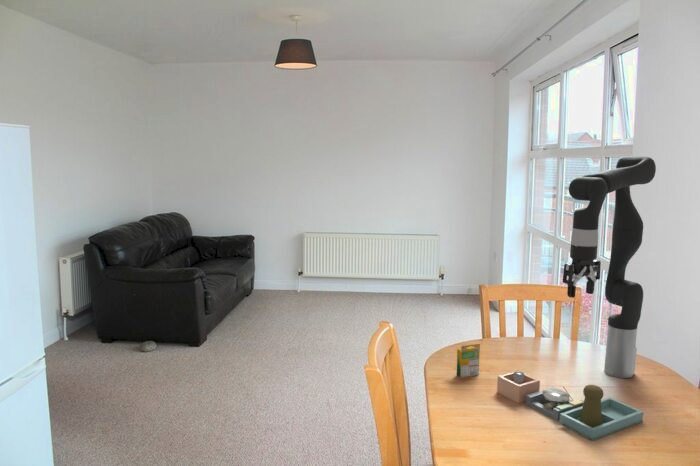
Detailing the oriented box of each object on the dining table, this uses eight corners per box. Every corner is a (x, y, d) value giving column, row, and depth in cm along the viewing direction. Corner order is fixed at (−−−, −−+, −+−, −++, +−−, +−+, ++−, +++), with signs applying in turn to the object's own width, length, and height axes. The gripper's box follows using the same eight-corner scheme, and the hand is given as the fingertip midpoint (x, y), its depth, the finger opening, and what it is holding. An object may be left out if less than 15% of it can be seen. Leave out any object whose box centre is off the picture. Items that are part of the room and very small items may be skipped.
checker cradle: (552, 397, 175) (553, 386, 174) (585, 413, 165) (586, 401, 164) (525, 405, 169) (526, 394, 169) (557, 422, 159) (558, 410, 158)
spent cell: (517, 391, 178) (518, 370, 177) (525, 395, 175) (526, 374, 174) (510, 393, 176) (511, 372, 175) (517, 397, 173) (519, 376, 172)
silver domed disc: (553, 398, 172) (554, 386, 171) (574, 407, 165) (575, 396, 165) (536, 403, 168) (537, 391, 168) (556, 413, 162) (557, 401, 161)
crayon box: (474, 373, 194) (475, 341, 192) (479, 376, 191) (480, 343, 189) (456, 375, 192) (457, 343, 190) (460, 378, 189) (461, 346, 187)
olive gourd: (605, 429, 154) (608, 392, 152) (582, 427, 155) (585, 390, 153) (599, 419, 160) (602, 383, 158) (577, 417, 161) (579, 381, 159)
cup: (517, 388, 182) (518, 370, 181) (538, 398, 174) (539, 380, 173) (496, 393, 177) (497, 375, 176) (518, 405, 170) (519, 386, 169)
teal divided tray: (608, 406, 169) (609, 396, 169) (642, 421, 160) (643, 411, 159) (559, 423, 158) (559, 413, 158) (592, 440, 149) (593, 430, 148)
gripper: (588, 239, 175) (585, 289, 177) (557, 243, 168) (554, 295, 170) (610, 243, 168) (606, 295, 171) (579, 247, 161) (575, 301, 164)
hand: (580, 295), depth 170 cm, fingers open, 8 cm apart
